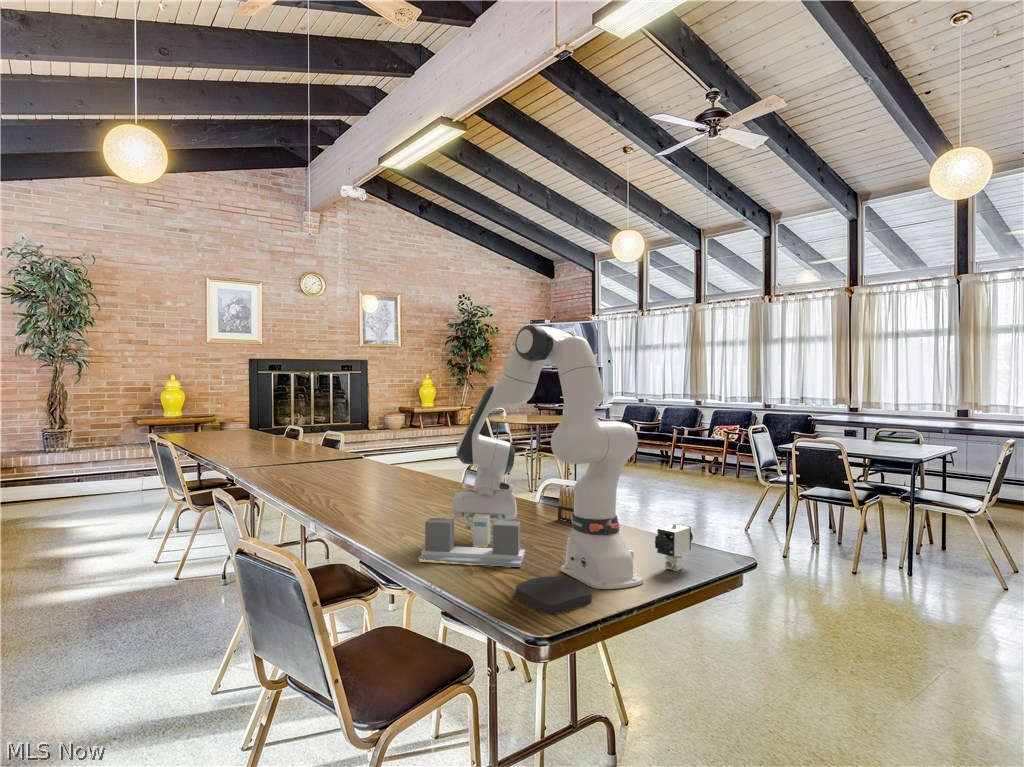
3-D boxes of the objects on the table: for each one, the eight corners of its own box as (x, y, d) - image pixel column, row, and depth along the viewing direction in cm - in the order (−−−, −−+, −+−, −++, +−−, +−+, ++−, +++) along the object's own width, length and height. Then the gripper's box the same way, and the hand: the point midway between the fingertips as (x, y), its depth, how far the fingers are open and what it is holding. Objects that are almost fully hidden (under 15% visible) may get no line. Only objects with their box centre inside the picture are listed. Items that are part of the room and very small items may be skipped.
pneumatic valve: (693, 566, 150) (693, 521, 150) (670, 576, 142) (670, 529, 142) (674, 561, 154) (675, 518, 154) (651, 570, 146) (651, 525, 146)
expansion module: (487, 548, 165) (487, 517, 165) (472, 547, 165) (472, 517, 165) (490, 543, 170) (490, 513, 170) (475, 542, 171) (476, 513, 171)
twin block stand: (520, 567, 147) (520, 529, 147) (417, 562, 151) (418, 525, 151) (525, 554, 159) (525, 518, 159) (430, 549, 163) (430, 514, 163)
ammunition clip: (557, 519, 200) (557, 486, 200) (560, 518, 202) (561, 485, 202) (581, 525, 193) (581, 490, 193) (584, 524, 194) (584, 489, 194)
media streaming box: (548, 618, 116) (549, 603, 116) (508, 596, 128) (508, 583, 128) (599, 602, 125) (599, 589, 125) (556, 583, 137) (557, 571, 137)
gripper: (453, 483, 176) (445, 522, 166) (517, 485, 173) (513, 524, 164) (457, 495, 180) (449, 533, 171) (519, 497, 178) (515, 535, 168)
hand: (481, 529), depth 167 cm, fingers open, 7 cm apart
